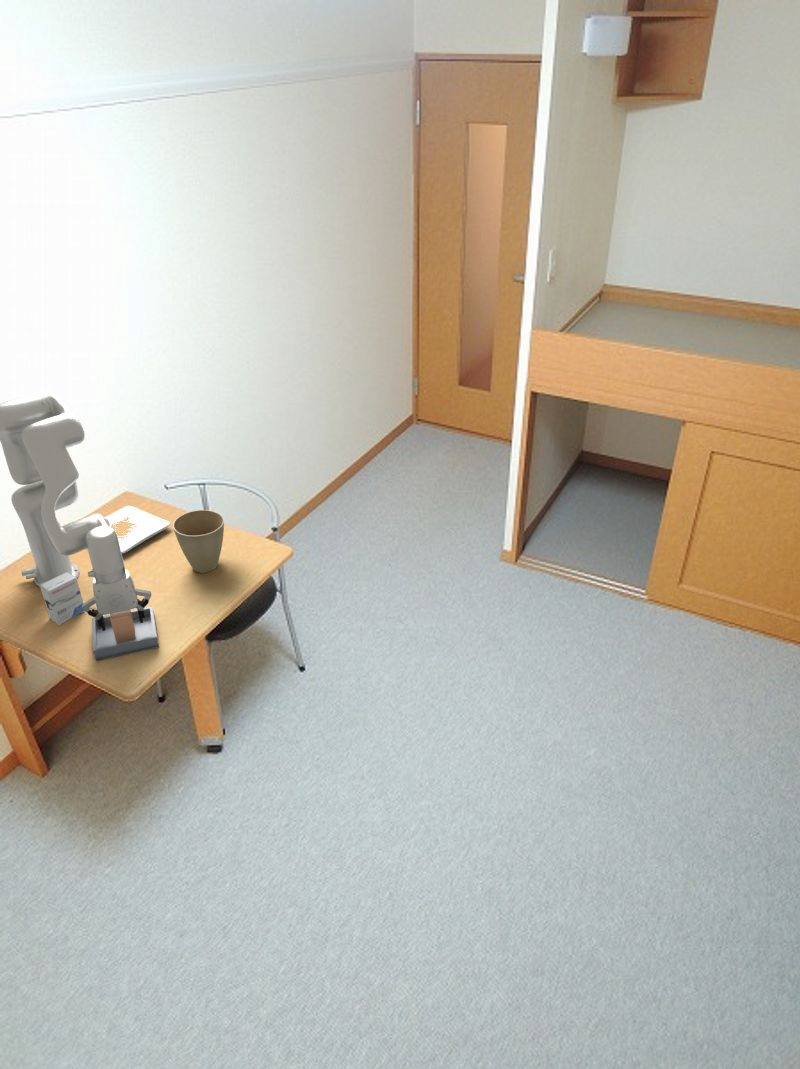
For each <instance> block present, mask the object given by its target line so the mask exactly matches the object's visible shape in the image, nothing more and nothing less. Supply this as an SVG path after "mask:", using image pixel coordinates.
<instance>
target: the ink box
mask: <svg viewBox="0 0 800 1069" xmlns="http://www.w3.org/2000/svg"><path fill="white" fill-rule="evenodd" d="M39 588H40V591H41V594H42V597H43V601H44V603H45V607H46V609H47V612H48V616H49V619H51V620H52V621H53V622H54V623H56V624H57V625H61V624H63V623H65V622H67V621H68V620H71V619H72V618H74V617H76V616H78V615H79V614H82V613H83V612H85V611H84V610H83V609H82V604H84V603H85V602H84V600H83V596H82V593H81V589H80V586H79V582H78V578H77V579H76V577H74V576H73V575H71V574H70V573H68V572H66V573H64V574H62V575H60V576H58V577H56V578H53V579H51V580H49V581H47V582H45V583H43V584H41V585H40V587H39Z"/></svg>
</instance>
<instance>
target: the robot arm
mask: <svg viewBox="0 0 800 1069" xmlns="http://www.w3.org/2000/svg"><path fill="white" fill-rule="evenodd" d="M85 437H86V435H85V431H84V428H83V425H82V423H81V421H80V420H79V418H78V417H77V416H76V415H75V414H74V412H73V411H72V410H71V409H70V408H69V407H68V406H67V405H66V404H65V403H64V402H63V401H62V400H61V399H60V398H59V397H58V396H57V395H56V394H54V393H53V392H50V391H41V392H37V393H34V394H31V395H30V394H29V395H26V396H23V397H19V398H15V399H12V400H8V401H4V402H1V403H0V444H1V448H2V452H3V454H4V458H5V461H6V465H7V468H8V471H9V474H10V476H11V478H12V480H13V481H14V482H15V483H16V484H18V485H20V486H21V487H19V488H17V489H16V490H15V491H14V492H13V493H12V494H11V503H12V506H13V509H14V510H15V513H16V514H17V516H18V518H19V521H20V522H21V525H22V527H23V530H24V532H25V536H26V539H27V542H28V545H29V549H30V551H31V554H32V558H33V561H34V564H35V566H32V568H26V569H21V576H22V577H25V579H26V580H30V579H33V580H34V583H35V585H36V586H37V587H39V588H40V585H41V584H43V583H45V582H47V581H49V580H51V579H53V578H56V577H58V576H60V575H62V574H64V573H66V572H68V573H70V574H71V575H73V576H74V577H76V579H77V580H78V577H79V575H80V569H79V568H80V567H79V566H78V565H76V564H75V563H72V562H71V561H72V560H71V557H70V556H71V555H74V554H77V553H81V552H83V551H84V550H85V551H86V550H87V552H88V555H89V560H90V563H91V566H92V569H91V570H90V571H87V576H88V578H91V577H92V578H93V579H92V591H93V597H92V598H90V599H88V600H87V601H85V602H83V603H84V604H82V609H83V610H84V611H83V612H84V613H87V615H88V616H90V617H92V618H95V619H96V620H97V621H98V625H99V627H102V630H103V631H105V630H106V629H105V621H104V617H103V616H107V615H110V614H111V613H116V612H121V611H126V610H135V609H138V615H139V619H140V623H143V618H145V614H144V608H146V606H148V604H149V603H150V600H151V597H152V592H151V591H150V590H145V589H140V588H136V587H135V584H134V581H133V578H132V576H131V573H130V572H129V571H128V569H126V566H125V562H124V559H123V553H121V549H120V545H119V540H118V536H117V533H116V531H115V530H114V529H113V528H111V526H110V523H109V521H108V519H107V518H106V516H104V515H103V514H101V513H92V514H90V515H87V516H85V517H82V518H79V519H76V520H73V521H72V522H69V523H67V524H64V525H61V523H60V522H59V521H58V518H57V516H56V511H59V510H61V509H64V508H67V507H69V506H71V505H73V504H75V503H76V502H78V499H79V489H78V485H77V481H78V479H79V476H80V474H79V471H78V469H77V468H76V465H75V464H74V462H73V460H72V457H71V455H70V453H69V451H68V449H69V448H71V447H74V446H77V445H80V444H82V443H84V441H85V439H86V438H85ZM138 596H140V597H143V598H142V599H141V600H140V599H139V598H138ZM94 605H95V606H96V609H94V608H92V607H93V606H94Z"/></svg>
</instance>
